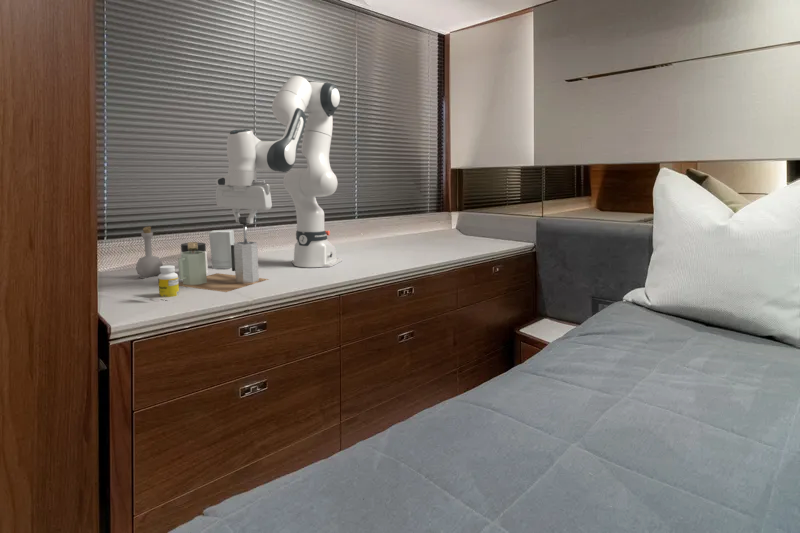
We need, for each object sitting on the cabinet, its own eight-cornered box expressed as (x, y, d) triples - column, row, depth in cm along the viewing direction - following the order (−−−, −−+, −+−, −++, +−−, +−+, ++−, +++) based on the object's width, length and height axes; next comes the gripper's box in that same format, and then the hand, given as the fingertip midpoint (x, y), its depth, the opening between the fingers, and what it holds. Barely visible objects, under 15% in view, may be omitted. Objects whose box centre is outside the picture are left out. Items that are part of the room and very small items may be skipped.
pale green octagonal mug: (195, 279, 168) (193, 250, 167) (211, 281, 166) (209, 251, 164) (172, 284, 160) (170, 254, 158) (189, 287, 157) (187, 256, 155)
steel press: (240, 277, 172) (238, 240, 170) (262, 280, 168) (261, 242, 166) (225, 281, 166) (223, 243, 163) (248, 284, 162) (246, 245, 160)
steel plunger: (244, 248, 168) (243, 215, 166) (256, 249, 166) (255, 216, 164) (235, 250, 163) (233, 216, 161) (246, 251, 162) (245, 217, 159)
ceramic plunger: (194, 270, 166) (192, 241, 164) (205, 272, 164) (203, 242, 163) (183, 273, 162) (181, 242, 160) (194, 274, 160) (192, 243, 158)
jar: (211, 274, 183) (209, 242, 180) (204, 279, 175) (202, 245, 172) (186, 274, 182) (183, 242, 179) (178, 279, 174) (176, 245, 171)
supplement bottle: (156, 298, 147) (153, 266, 145) (173, 295, 151) (171, 264, 149) (165, 302, 143) (162, 268, 142) (183, 298, 148) (180, 266, 146)
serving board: (217, 276, 179) (217, 273, 179) (269, 282, 171) (269, 279, 170) (170, 288, 160) (170, 284, 160) (226, 295, 151) (226, 291, 151)
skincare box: (237, 266, 199) (235, 229, 196) (232, 269, 193) (230, 231, 190) (216, 266, 198) (214, 229, 196) (210, 269, 192) (208, 231, 190)
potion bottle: (169, 275, 180) (166, 226, 177) (151, 280, 172) (147, 228, 168) (149, 273, 182) (145, 225, 179) (130, 278, 174) (126, 227, 171)
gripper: (275, 180, 159) (276, 223, 162) (225, 179, 167) (227, 220, 170) (262, 181, 154) (264, 225, 156) (211, 179, 161) (213, 222, 164)
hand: (244, 222), depth 163 cm, fingers closed on steel plunger, 3 cm apart
